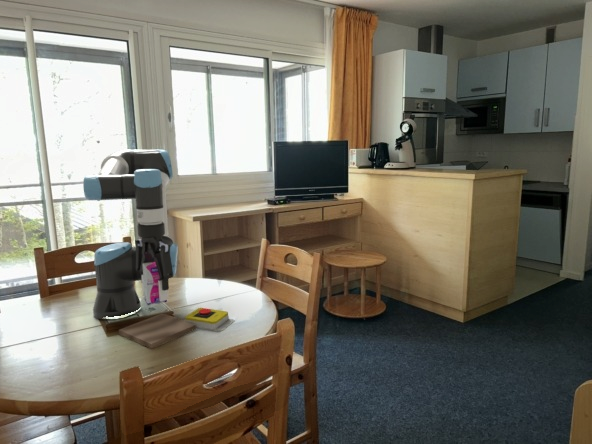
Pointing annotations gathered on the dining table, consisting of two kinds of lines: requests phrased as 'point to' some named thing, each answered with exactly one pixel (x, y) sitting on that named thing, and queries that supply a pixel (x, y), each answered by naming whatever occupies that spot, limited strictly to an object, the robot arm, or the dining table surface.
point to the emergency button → (209, 319)
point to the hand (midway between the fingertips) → (155, 297)
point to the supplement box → (151, 283)
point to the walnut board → (157, 330)
